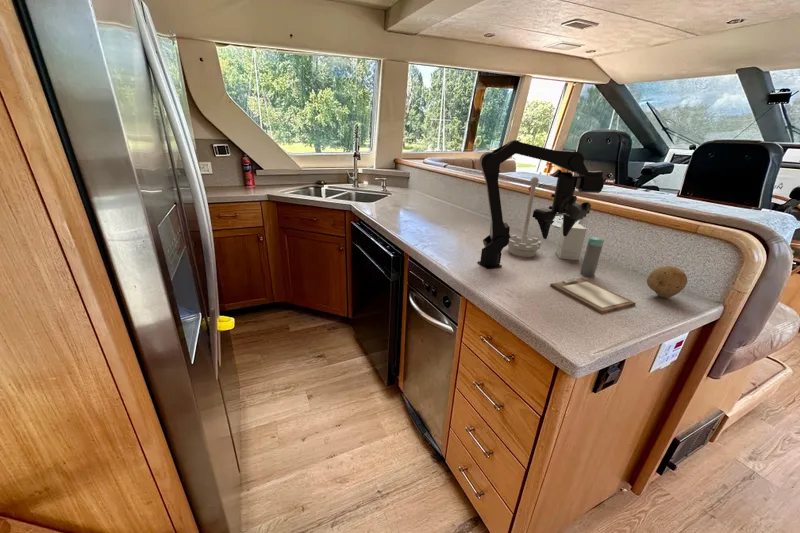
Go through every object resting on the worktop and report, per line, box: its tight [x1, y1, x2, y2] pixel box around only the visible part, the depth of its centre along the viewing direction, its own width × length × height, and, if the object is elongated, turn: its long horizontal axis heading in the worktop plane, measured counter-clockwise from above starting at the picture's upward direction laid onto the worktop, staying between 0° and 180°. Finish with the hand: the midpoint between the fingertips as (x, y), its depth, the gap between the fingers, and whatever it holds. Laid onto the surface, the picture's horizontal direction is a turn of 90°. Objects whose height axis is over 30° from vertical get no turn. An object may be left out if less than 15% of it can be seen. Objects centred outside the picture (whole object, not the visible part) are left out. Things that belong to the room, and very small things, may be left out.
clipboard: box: [549, 277, 636, 314], centre depth 99 cm, size 14×18×1 cm
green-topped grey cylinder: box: [579, 236, 605, 278], centre depth 111 cm, size 4×4×13 cm
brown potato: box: [646, 265, 688, 299], centre depth 97 cm, size 9×9×10 cm
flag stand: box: [507, 176, 542, 258], centre depth 128 cm, size 13×13×30 cm
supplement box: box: [554, 222, 588, 261], centre depth 128 cm, size 7×7×13 cm
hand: (554, 237), depth 112 cm, fingers open, 9 cm apart
